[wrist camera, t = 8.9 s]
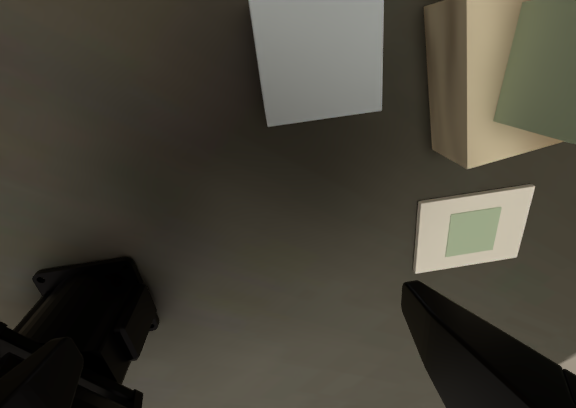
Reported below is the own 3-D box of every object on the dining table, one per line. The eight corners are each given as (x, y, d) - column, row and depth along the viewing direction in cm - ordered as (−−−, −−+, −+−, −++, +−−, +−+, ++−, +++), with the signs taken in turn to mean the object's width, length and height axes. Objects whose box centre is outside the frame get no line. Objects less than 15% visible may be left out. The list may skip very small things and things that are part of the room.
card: (412, 270, 24) (415, 274, 24) (418, 201, 21) (421, 204, 21) (512, 254, 24) (517, 258, 24) (530, 183, 22) (536, 186, 21)
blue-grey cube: (264, 107, 18) (267, 127, 13) (248, 5, 16) (246, -14, 11) (349, 95, 18) (382, 110, 13) (347, -8, 16) (384, -31, 11)
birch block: (429, 148, 20) (467, 169, 16) (420, 7, 16) (466, -5, 13) (552, 112, 20) (617, 125, 16) (570, -39, 16) (659, -65, 13)
